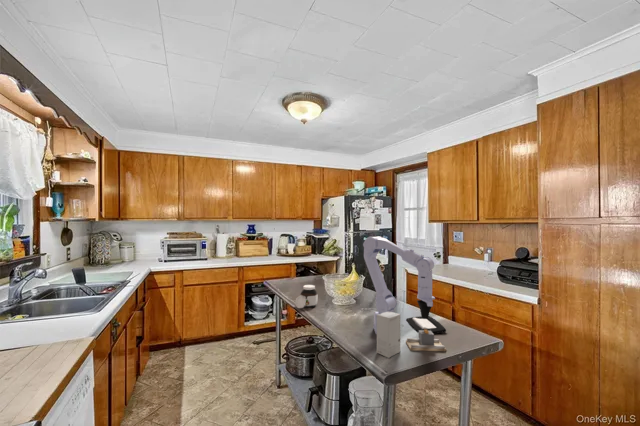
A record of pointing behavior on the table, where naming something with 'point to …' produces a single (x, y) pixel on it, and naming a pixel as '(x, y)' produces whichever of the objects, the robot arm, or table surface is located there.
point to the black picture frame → (426, 324)
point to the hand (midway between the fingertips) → (424, 318)
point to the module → (426, 337)
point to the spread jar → (307, 297)
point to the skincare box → (388, 334)
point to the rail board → (415, 345)
